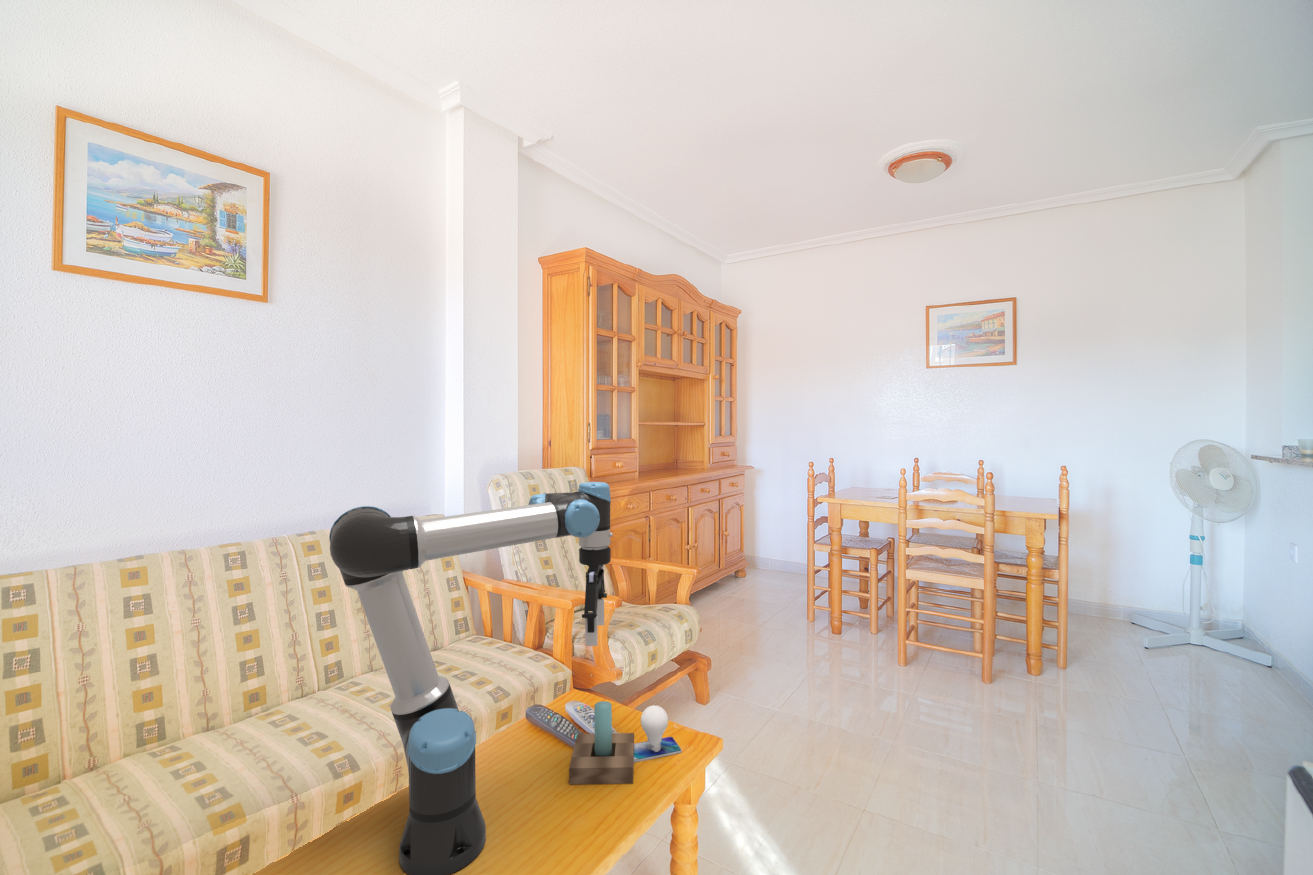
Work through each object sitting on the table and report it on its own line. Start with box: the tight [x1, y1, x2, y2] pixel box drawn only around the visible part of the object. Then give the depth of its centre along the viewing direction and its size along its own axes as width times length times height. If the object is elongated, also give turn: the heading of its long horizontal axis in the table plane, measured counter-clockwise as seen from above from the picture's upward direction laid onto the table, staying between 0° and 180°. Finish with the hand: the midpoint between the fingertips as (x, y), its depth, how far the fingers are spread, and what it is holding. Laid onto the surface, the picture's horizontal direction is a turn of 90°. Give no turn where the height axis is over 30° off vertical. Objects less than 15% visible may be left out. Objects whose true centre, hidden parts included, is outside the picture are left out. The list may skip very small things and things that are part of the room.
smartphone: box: [634, 736, 682, 764], centre depth 136 cm, size 7×1×15 cm
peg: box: [593, 700, 613, 757], centre depth 130 cm, size 4×4×14 cm
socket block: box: [568, 732, 635, 785], centre depth 130 cm, size 14×14×4 cm
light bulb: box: [640, 704, 669, 753], centre depth 135 cm, size 7×7×11 cm
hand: (595, 634), depth 134 cm, fingers open, 13 cm apart
